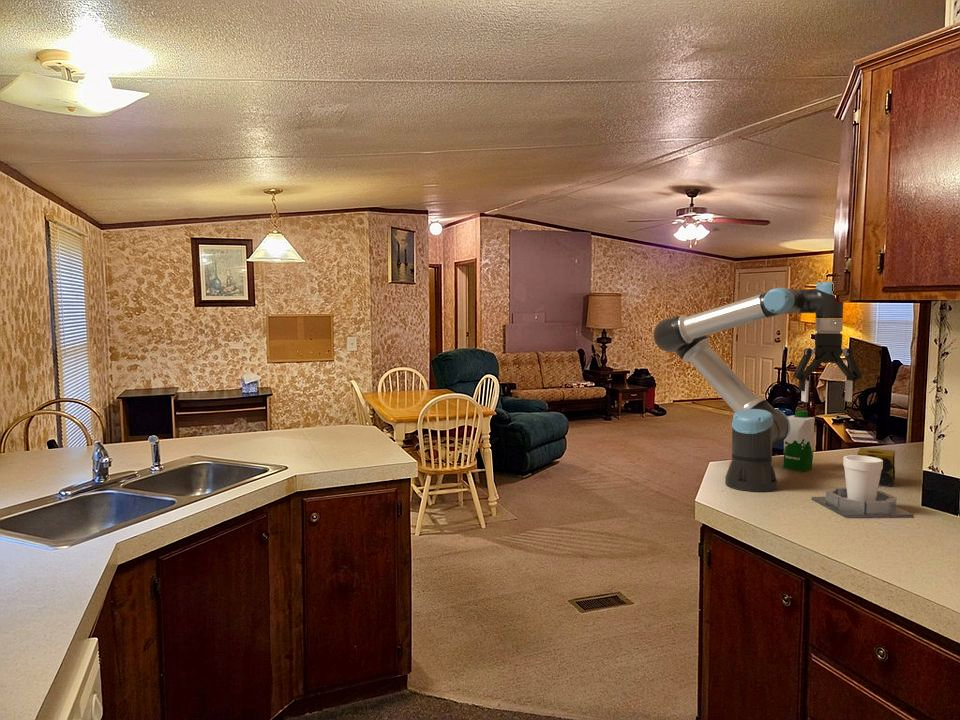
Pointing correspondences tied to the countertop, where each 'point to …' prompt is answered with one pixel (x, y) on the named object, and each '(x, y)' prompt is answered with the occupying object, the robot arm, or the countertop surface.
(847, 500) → the ring seat
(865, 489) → the foam cup
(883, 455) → the yellow black cube
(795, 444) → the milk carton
